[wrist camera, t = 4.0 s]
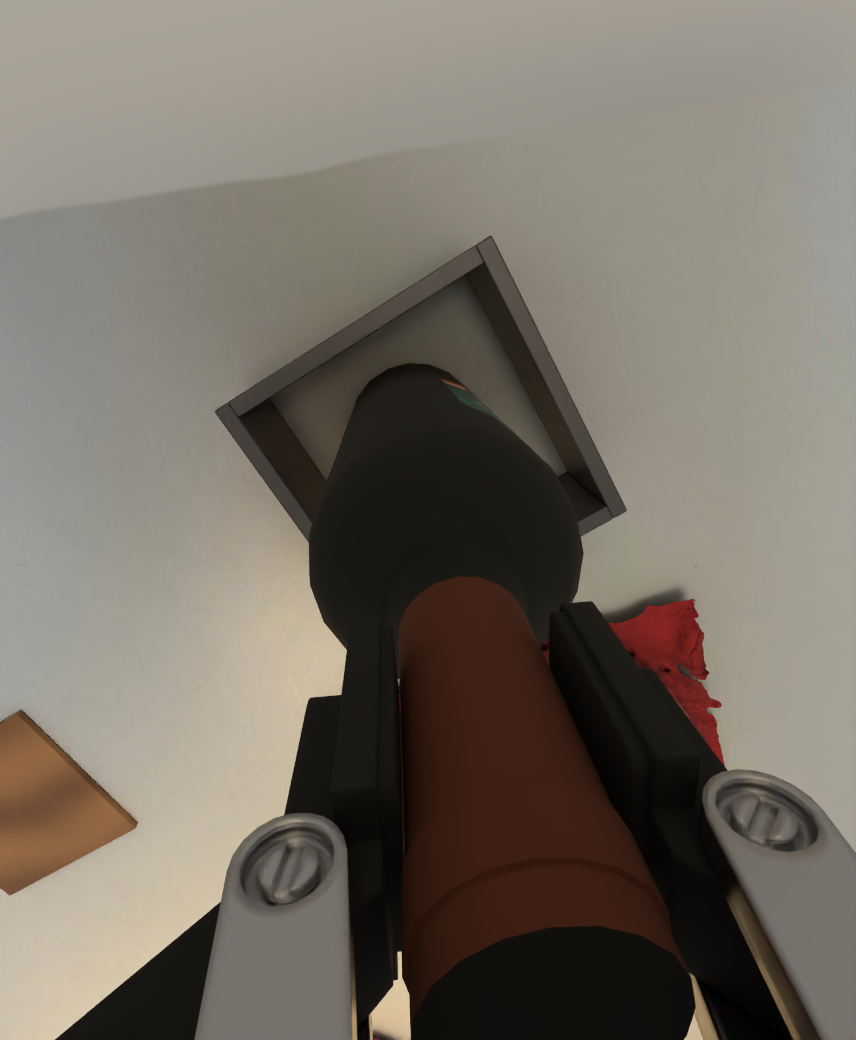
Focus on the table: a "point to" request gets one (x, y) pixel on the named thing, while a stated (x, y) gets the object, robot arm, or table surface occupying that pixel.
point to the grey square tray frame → (487, 274)
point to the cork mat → (47, 807)
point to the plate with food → (671, 659)
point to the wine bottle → (489, 730)
